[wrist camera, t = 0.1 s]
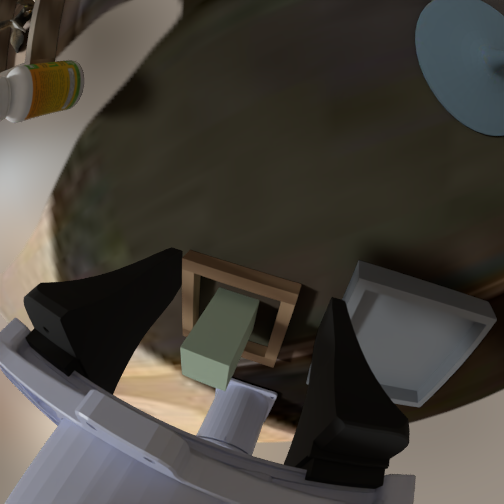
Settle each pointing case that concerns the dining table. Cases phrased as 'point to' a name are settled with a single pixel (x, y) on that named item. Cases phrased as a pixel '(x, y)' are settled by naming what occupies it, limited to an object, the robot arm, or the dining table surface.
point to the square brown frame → (242, 279)
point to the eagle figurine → (19, 23)
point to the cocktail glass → (464, 61)
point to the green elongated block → (219, 338)
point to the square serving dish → (33, 32)
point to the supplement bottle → (40, 90)
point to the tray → (413, 330)
